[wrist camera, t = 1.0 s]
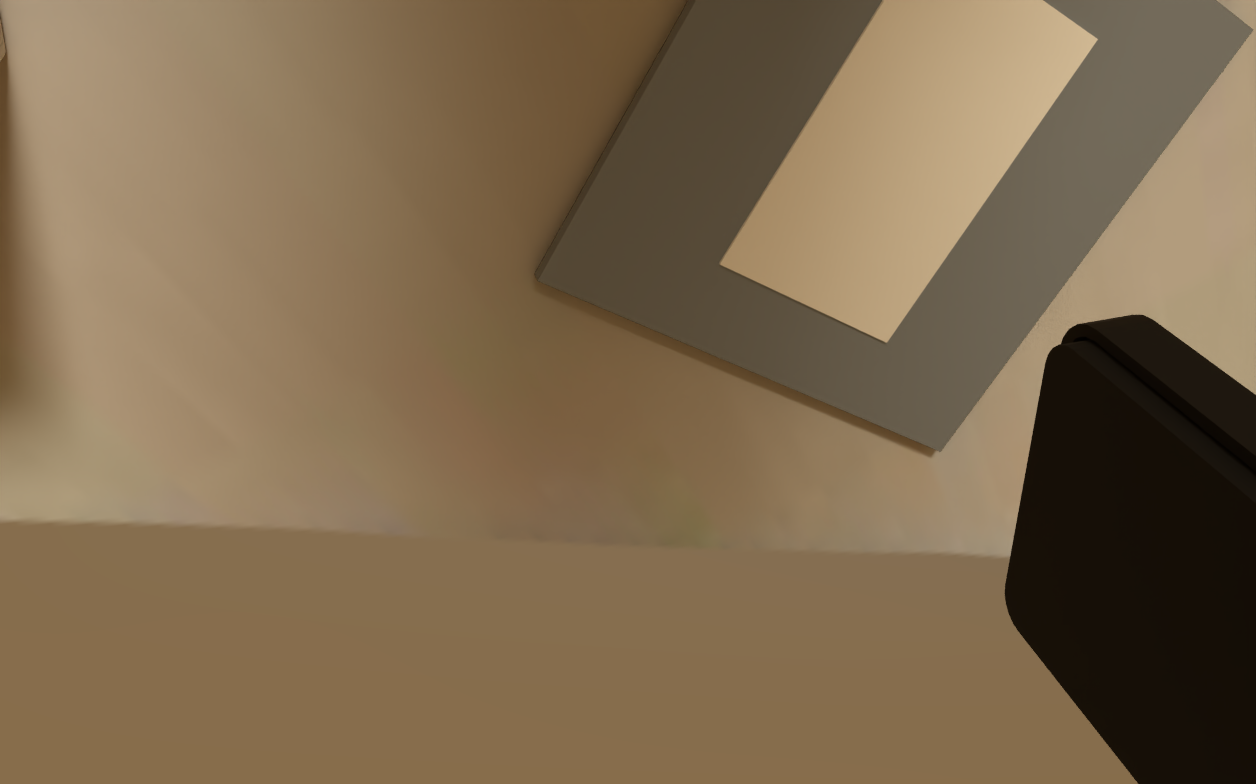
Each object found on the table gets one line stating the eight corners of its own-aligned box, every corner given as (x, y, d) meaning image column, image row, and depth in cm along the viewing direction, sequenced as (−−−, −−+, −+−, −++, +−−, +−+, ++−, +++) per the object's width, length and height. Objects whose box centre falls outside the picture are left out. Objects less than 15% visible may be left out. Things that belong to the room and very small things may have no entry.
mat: (848, -284, 32) (858, -284, 31) (1243, 26, 40) (1255, 30, 40) (534, 274, 38) (538, 282, 37) (934, 444, 46) (941, 453, 46)
